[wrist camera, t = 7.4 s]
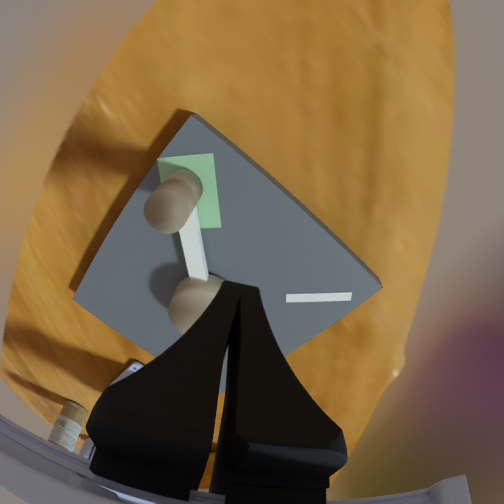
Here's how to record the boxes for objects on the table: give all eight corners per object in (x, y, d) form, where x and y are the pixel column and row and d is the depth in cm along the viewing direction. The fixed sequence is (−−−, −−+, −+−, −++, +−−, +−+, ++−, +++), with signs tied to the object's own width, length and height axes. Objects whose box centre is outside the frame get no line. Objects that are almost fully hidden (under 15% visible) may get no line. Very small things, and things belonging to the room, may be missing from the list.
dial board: (222, 384, 32) (221, 393, 31) (77, 291, 26) (71, 299, 25) (378, 278, 23) (383, 287, 22) (195, 112, 18) (190, 114, 17)
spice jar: (69, 409, 42) (44, 470, 30) (61, 395, 39) (32, 460, 28) (91, 417, 42) (67, 481, 30) (84, 404, 40) (57, 473, 28)
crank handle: (242, 324, 24) (237, 361, 21) (182, 323, 25) (171, 358, 22) (221, 165, 18) (208, 186, 15) (144, 173, 18) (118, 196, 15)
